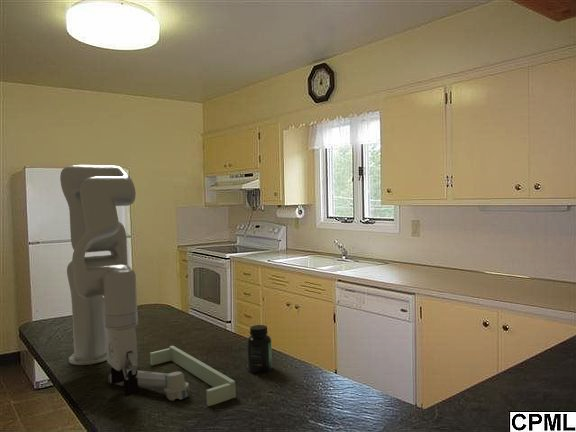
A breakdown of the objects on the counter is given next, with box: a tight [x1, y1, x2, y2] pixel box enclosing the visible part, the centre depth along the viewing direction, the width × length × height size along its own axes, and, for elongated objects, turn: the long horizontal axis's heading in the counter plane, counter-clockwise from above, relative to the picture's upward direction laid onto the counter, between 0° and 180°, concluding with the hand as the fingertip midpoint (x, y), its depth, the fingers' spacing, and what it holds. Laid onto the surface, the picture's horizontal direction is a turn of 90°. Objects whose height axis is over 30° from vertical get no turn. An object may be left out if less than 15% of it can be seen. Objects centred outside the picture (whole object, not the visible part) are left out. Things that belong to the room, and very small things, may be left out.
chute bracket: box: [149, 345, 237, 407], centre depth 123 cm, size 36×7×4 cm, turn 38°
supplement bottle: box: [246, 324, 273, 374], centre depth 129 cm, size 7×7×12 cm
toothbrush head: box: [107, 369, 190, 401], centre depth 117 cm, size 5×7×25 cm
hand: (124, 388), depth 113 cm, fingers open, 9 cm apart
